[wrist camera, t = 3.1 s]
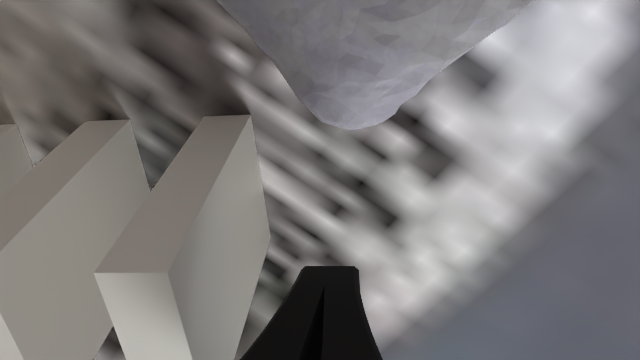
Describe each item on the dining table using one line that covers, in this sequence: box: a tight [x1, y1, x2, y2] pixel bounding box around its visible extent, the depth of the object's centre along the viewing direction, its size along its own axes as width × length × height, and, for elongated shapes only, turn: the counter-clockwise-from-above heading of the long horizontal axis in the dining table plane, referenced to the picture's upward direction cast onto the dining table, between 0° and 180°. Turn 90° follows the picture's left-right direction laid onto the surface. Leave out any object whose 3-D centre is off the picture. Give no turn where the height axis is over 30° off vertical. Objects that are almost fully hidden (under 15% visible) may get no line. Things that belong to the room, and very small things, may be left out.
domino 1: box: [0, 119, 150, 360], centre depth 16 cm, size 5×2×8 cm, turn 5°
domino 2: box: [94, 115, 271, 360], centre depth 16 cm, size 5×2×8 cm, turn 5°
